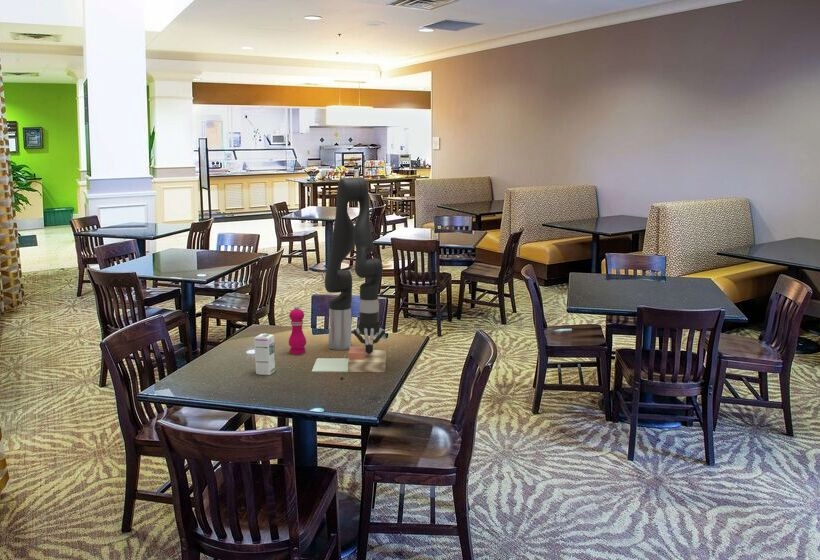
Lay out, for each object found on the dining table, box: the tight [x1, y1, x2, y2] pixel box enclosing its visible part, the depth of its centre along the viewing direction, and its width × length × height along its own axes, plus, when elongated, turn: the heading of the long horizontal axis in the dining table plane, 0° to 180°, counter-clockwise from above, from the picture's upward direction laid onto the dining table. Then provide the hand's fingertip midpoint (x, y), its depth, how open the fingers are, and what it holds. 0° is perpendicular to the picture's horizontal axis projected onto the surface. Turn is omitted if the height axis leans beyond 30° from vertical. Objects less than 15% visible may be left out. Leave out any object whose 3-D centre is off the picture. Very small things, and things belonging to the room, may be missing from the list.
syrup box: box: [253, 333, 277, 376], centre depth 259 cm, size 6×6×14 cm
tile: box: [348, 345, 366, 360], centre depth 268 cm, size 6×9×2 cm, turn 1°
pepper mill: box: [288, 305, 307, 355], centre depth 284 cm, size 7×7×20 cm
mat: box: [311, 357, 349, 373], centre depth 269 cm, size 14×16×1 cm
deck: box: [347, 349, 387, 373], centre depth 269 cm, size 14×16×4 cm
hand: (369, 353), depth 268 cm, fingers closed
